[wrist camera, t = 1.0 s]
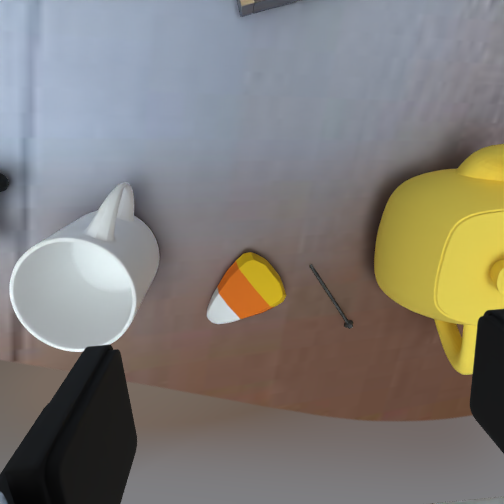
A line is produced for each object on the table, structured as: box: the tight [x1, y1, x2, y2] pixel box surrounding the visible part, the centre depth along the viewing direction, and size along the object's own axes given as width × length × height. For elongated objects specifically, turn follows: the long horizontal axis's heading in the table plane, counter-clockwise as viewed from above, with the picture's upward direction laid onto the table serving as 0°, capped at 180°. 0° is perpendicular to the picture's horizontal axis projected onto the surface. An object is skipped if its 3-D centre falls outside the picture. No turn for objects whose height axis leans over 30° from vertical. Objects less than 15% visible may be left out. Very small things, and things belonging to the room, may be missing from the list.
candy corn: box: [207, 252, 286, 324], centre depth 39 cm, size 6×3×8 cm
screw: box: [309, 264, 353, 329], centre depth 41 cm, size 8×1×1 cm, turn 33°
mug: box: [10, 182, 159, 352], centre depth 33 cm, size 9×12×11 cm
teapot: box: [374, 144, 504, 375], centre depth 33 cm, size 13×20×12 cm
